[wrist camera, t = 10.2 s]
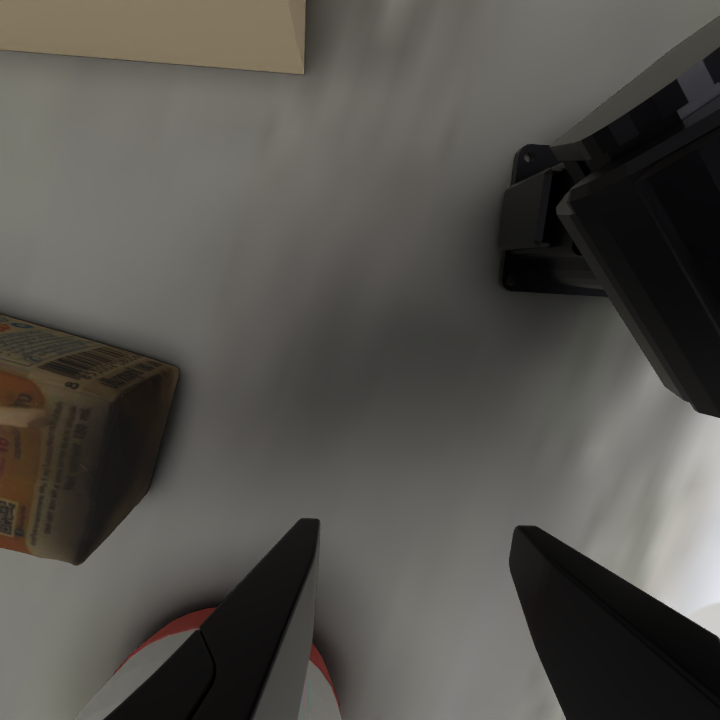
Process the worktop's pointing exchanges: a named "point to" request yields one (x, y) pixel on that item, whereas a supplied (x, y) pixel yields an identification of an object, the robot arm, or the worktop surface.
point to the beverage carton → (74, 438)
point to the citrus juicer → (318, 696)
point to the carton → (162, 31)
